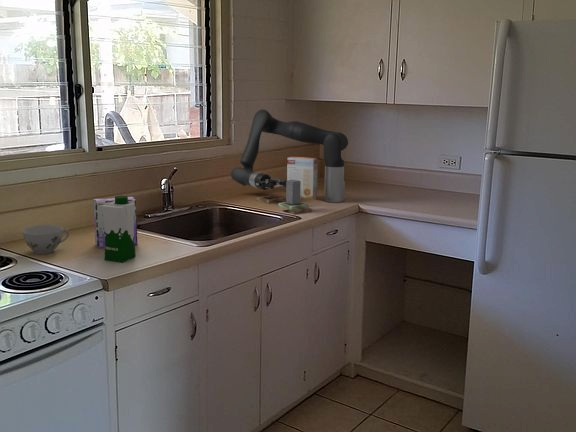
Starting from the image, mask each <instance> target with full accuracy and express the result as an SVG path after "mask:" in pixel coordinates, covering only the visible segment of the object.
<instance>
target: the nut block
mask: <svg viewBox="0 0 576 432" xmlns="http://www.w3.org/2000/svg"><path fill="white" fill-rule="evenodd" d="M286 180H287V179H286ZM300 187H301V181H298V180H287V181H286V187H285V188H286V189H285V190H286V191H285V194H286V195H285V202H286V204H287V205H291V206H294V205H300V202H301V198H300Z"/></svg>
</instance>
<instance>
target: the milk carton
mask: <svg viewBox="0 0 576 432" xmlns="http://www.w3.org/2000/svg"><path fill="white" fill-rule="evenodd" d="M128 197H129V196H127V195H117V196H114V198H115V202H111V203H107V204H105V205H102V206H100V207H101V210H102V214H103V218H104V234H105V247H104V259H103V260H104V261H107V262H117V263H125V262H127V261H129V260H132V259H134V258H136V248H135V246H136V245H135V244H134V220H133V216H134V206H135V203H129V202H128Z"/></svg>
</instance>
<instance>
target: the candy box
mask: <svg viewBox="0 0 576 432" xmlns="http://www.w3.org/2000/svg"><path fill="white" fill-rule="evenodd" d="M127 197H128V202H129V203H135V206H134V216H133V220H134V244H135V246H136V245H138V225H137V224H138V223H137V221H138V220H137V199H135V198H134V196H127ZM111 202H115V197H111V198H93V216H94V217H93V220H94V222H93V223H94V239H95V240H94V244H95V245H96V248H97V249H102V248H104V249H105V234H104V218H103V214H102V210H101V207H100V206H102V205H105V204H107V203H111Z"/></svg>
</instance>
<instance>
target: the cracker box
mask: <svg viewBox="0 0 576 432" xmlns="http://www.w3.org/2000/svg"><path fill="white" fill-rule="evenodd" d="M318 160H319V158H318V157H305V156H289V157H287V161H286V162H287V166H286V167H287V169H286V170H287V171H286V180H298V181H301V187H300V199H307V200H316V201H317V199H318V172H319V171H318V170H319V169H318V166H319V165H318V162H319V161H318Z"/></svg>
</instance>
